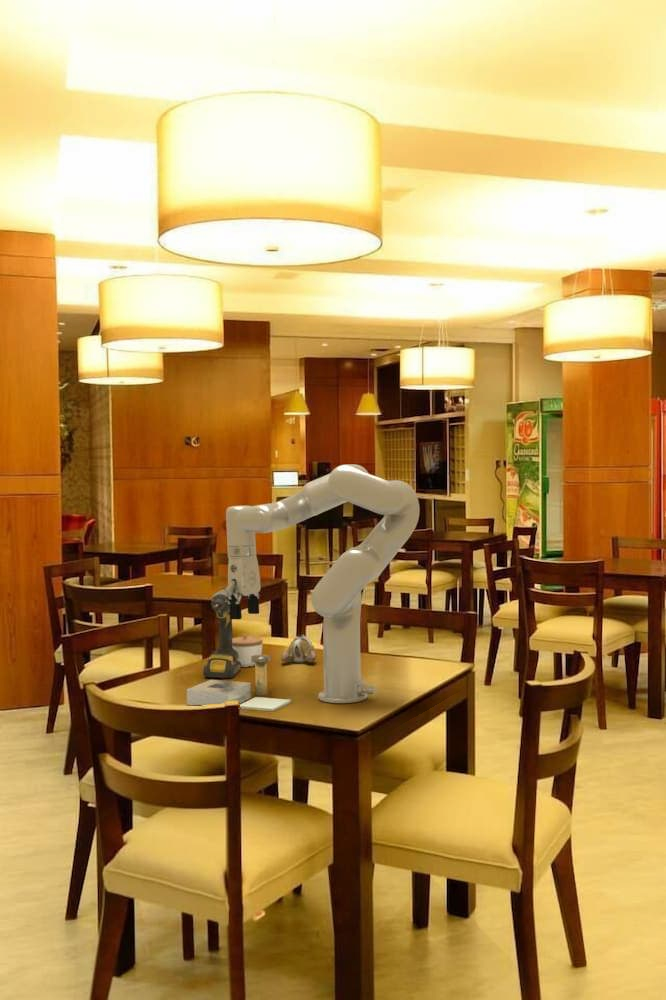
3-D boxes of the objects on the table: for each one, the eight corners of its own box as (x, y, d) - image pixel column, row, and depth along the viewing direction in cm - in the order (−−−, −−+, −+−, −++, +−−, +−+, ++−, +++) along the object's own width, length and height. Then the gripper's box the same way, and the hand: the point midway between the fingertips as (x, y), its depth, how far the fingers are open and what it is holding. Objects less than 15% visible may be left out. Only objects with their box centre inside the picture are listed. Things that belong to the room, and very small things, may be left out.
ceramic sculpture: (319, 629, 308) (313, 640, 293) (320, 656, 309) (314, 668, 294) (286, 629, 309) (278, 641, 294) (287, 656, 310) (279, 669, 295)
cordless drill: (195, 684, 273) (193, 594, 272) (214, 669, 293) (212, 586, 292) (227, 684, 272) (225, 594, 271) (243, 669, 291) (241, 586, 291)
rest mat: (291, 702, 249) (290, 699, 249) (273, 711, 240) (273, 708, 240) (256, 699, 253) (256, 697, 253) (237, 708, 244) (237, 705, 244)
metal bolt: (274, 693, 259) (273, 655, 259) (265, 697, 255) (264, 658, 254) (257, 692, 261) (256, 654, 261) (248, 696, 257) (247, 657, 256)
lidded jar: (265, 661, 303) (264, 631, 303) (260, 668, 292) (259, 637, 292) (231, 661, 304) (230, 631, 304) (224, 668, 293) (224, 637, 293)
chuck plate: (251, 697, 255) (250, 682, 255) (228, 708, 244) (228, 692, 243) (210, 694, 259) (210, 679, 259) (187, 705, 248) (186, 689, 248)
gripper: (238, 555, 250) (241, 621, 250) (269, 549, 266) (272, 611, 266) (213, 555, 253) (216, 621, 253) (245, 549, 269) (248, 611, 269)
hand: (244, 616), depth 260 cm, fingers open, 9 cm apart
